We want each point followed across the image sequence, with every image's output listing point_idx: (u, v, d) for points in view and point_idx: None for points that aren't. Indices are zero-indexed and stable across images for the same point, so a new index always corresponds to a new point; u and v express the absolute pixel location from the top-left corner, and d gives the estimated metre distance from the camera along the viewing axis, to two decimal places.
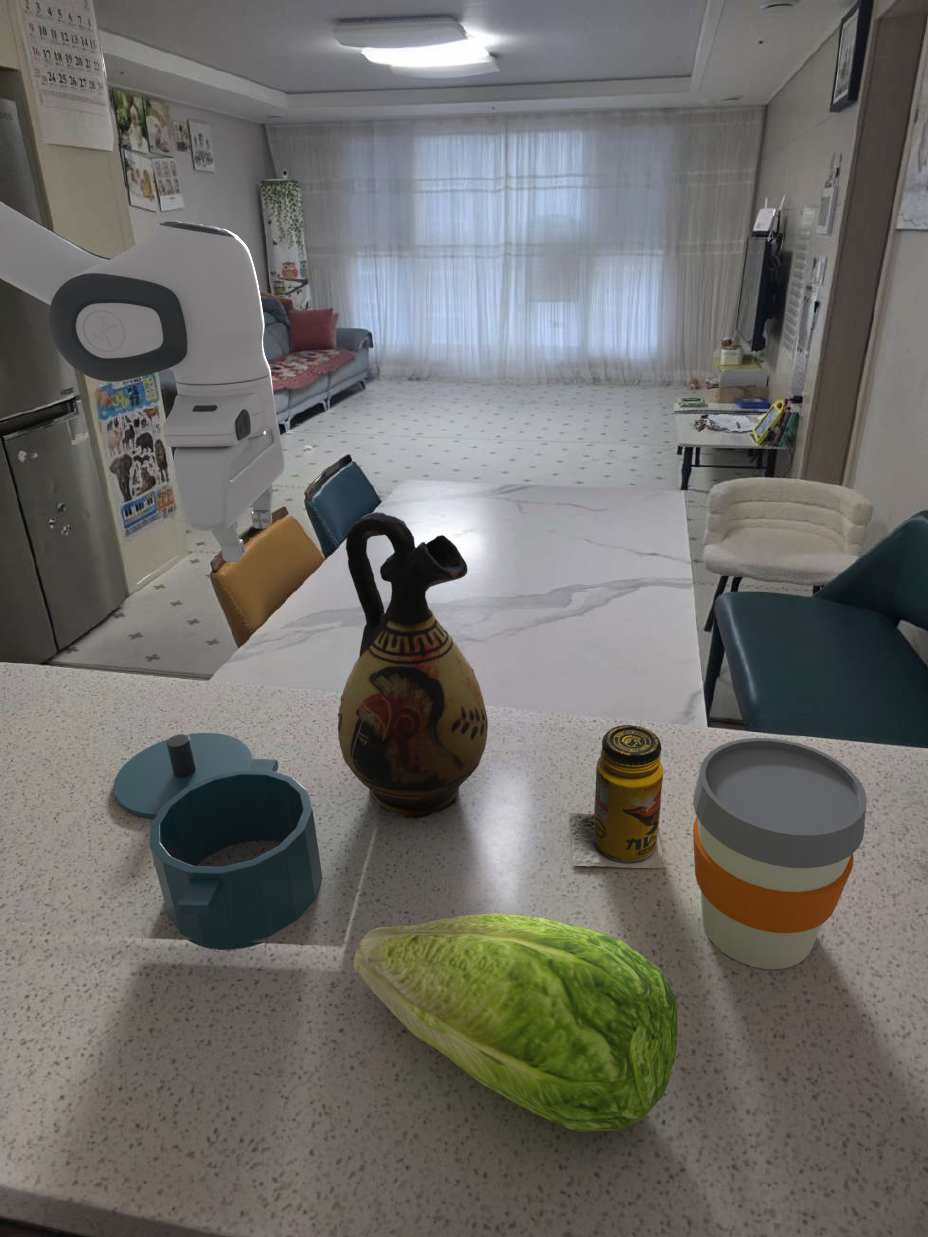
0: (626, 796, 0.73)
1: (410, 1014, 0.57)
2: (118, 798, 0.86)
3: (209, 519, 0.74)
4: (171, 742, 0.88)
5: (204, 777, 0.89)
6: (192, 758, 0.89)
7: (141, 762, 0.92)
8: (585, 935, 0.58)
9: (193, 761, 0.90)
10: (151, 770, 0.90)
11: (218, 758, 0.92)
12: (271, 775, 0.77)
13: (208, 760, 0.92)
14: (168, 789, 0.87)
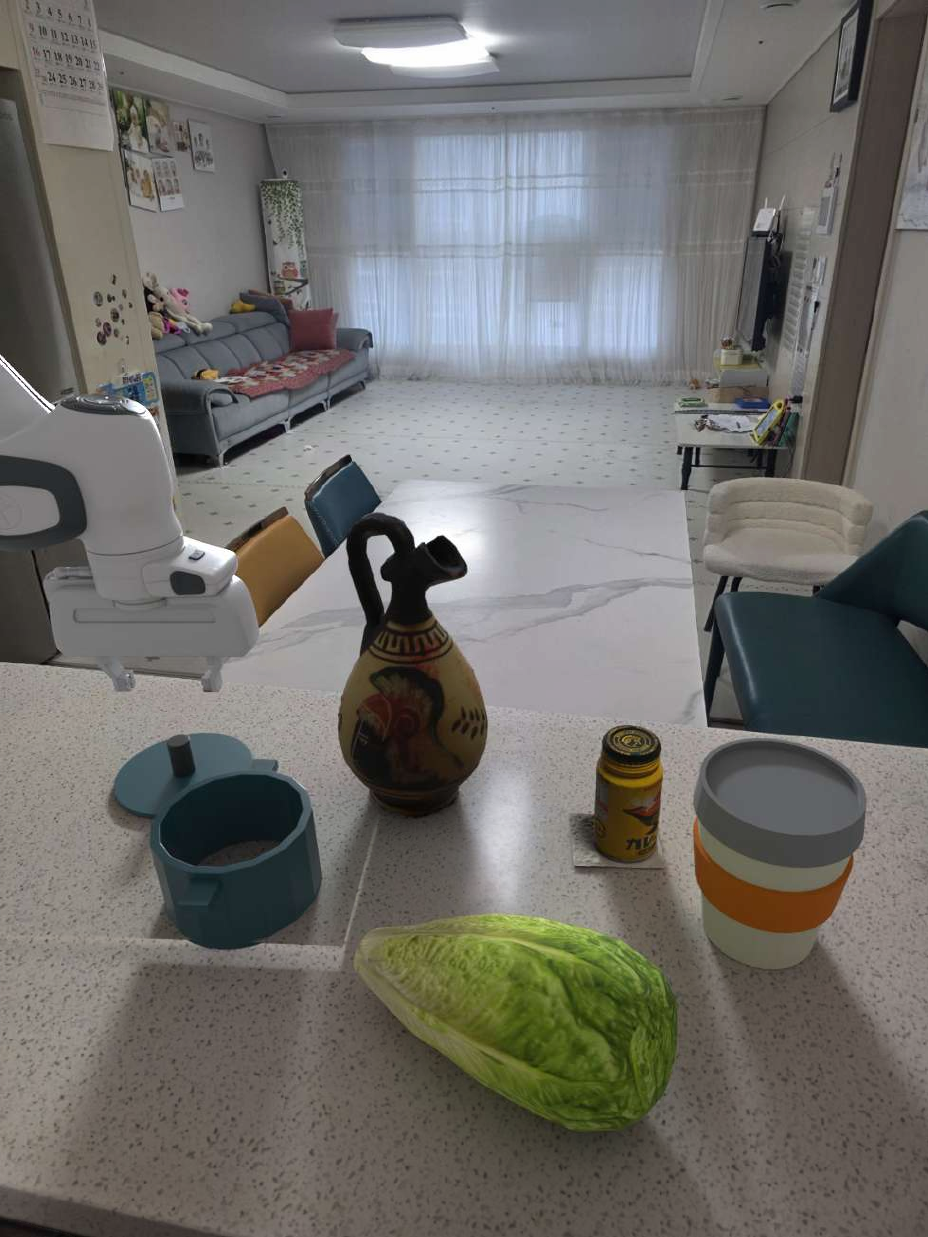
0: (626, 795, 0.73)
1: (410, 1014, 0.57)
2: (118, 798, 0.86)
3: (255, 636, 0.82)
4: (171, 742, 0.88)
5: (204, 777, 0.89)
6: (192, 758, 0.89)
7: (141, 762, 0.92)
8: (585, 935, 0.58)
9: (193, 761, 0.90)
10: (151, 770, 0.90)
11: (218, 758, 0.92)
12: (271, 775, 0.77)
13: (208, 760, 0.92)
14: (168, 789, 0.87)
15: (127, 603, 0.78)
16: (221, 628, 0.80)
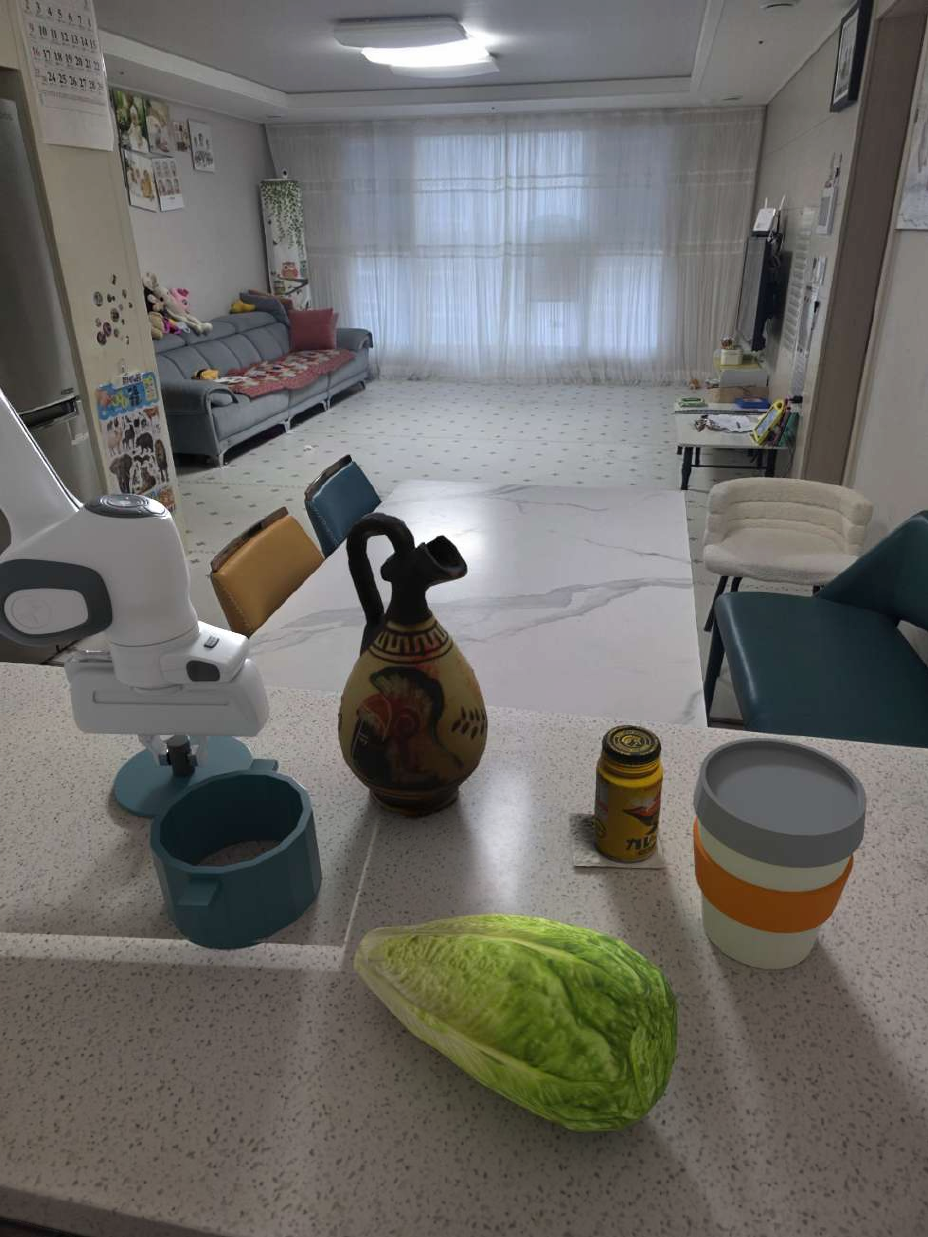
0: (626, 796, 0.73)
1: (410, 1014, 0.57)
2: (118, 798, 0.86)
3: (266, 716, 0.87)
4: (171, 742, 0.88)
5: (204, 777, 0.89)
6: None
7: (141, 762, 0.92)
8: (585, 935, 0.58)
9: None
10: (151, 770, 0.90)
11: (218, 757, 0.92)
12: (271, 775, 0.77)
13: (208, 760, 0.92)
14: (168, 789, 0.87)
15: (145, 688, 0.82)
16: (234, 711, 0.84)
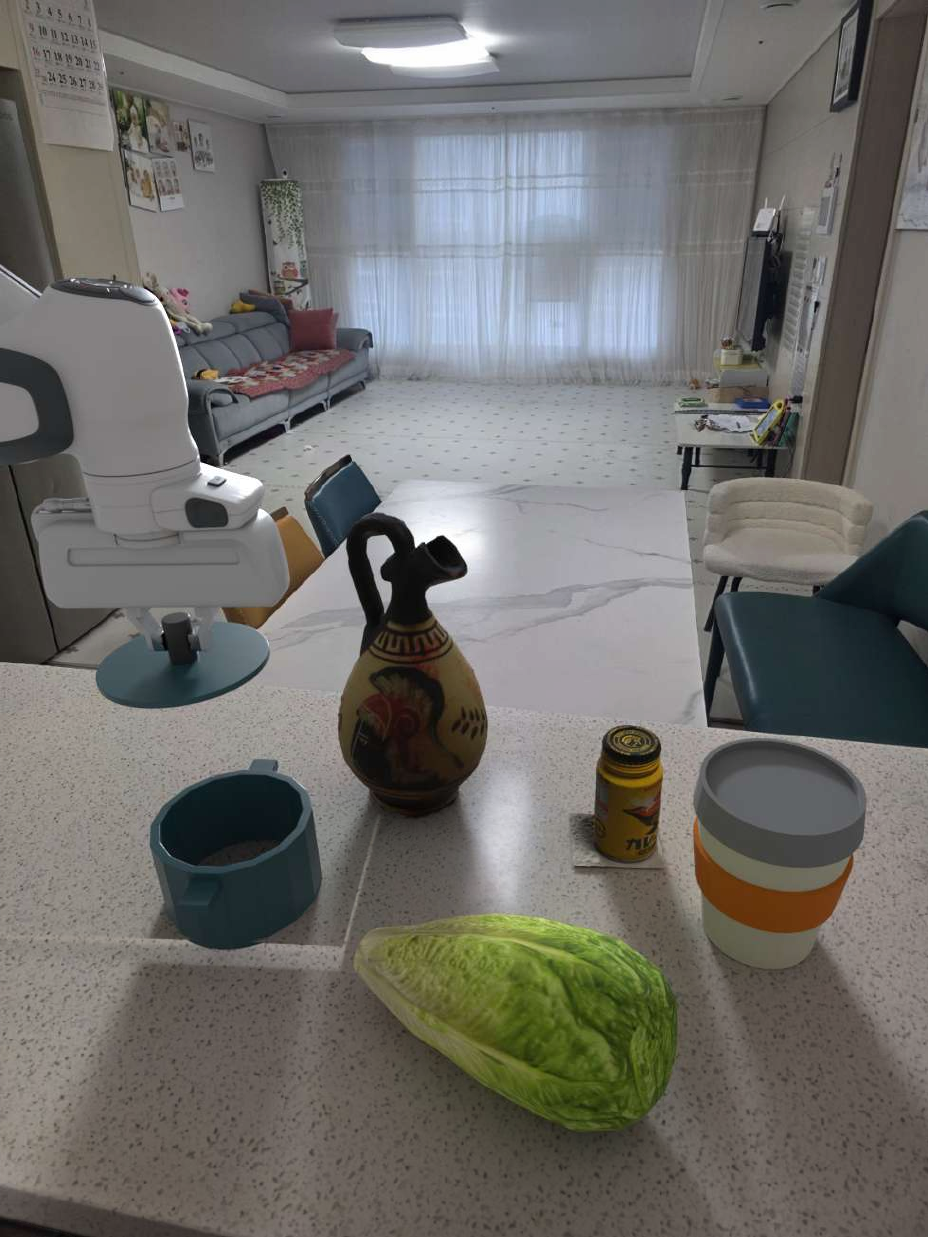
0: (626, 795, 0.73)
1: (410, 1014, 0.57)
2: (101, 687, 0.69)
3: (286, 583, 0.69)
4: (167, 619, 0.70)
5: (208, 664, 0.71)
6: None
7: (130, 651, 0.74)
8: (585, 935, 0.58)
9: None
10: (142, 658, 0.73)
11: (226, 645, 0.74)
12: (271, 775, 0.77)
13: (213, 647, 0.74)
14: (163, 677, 0.70)
15: (133, 539, 0.64)
16: (246, 571, 0.66)
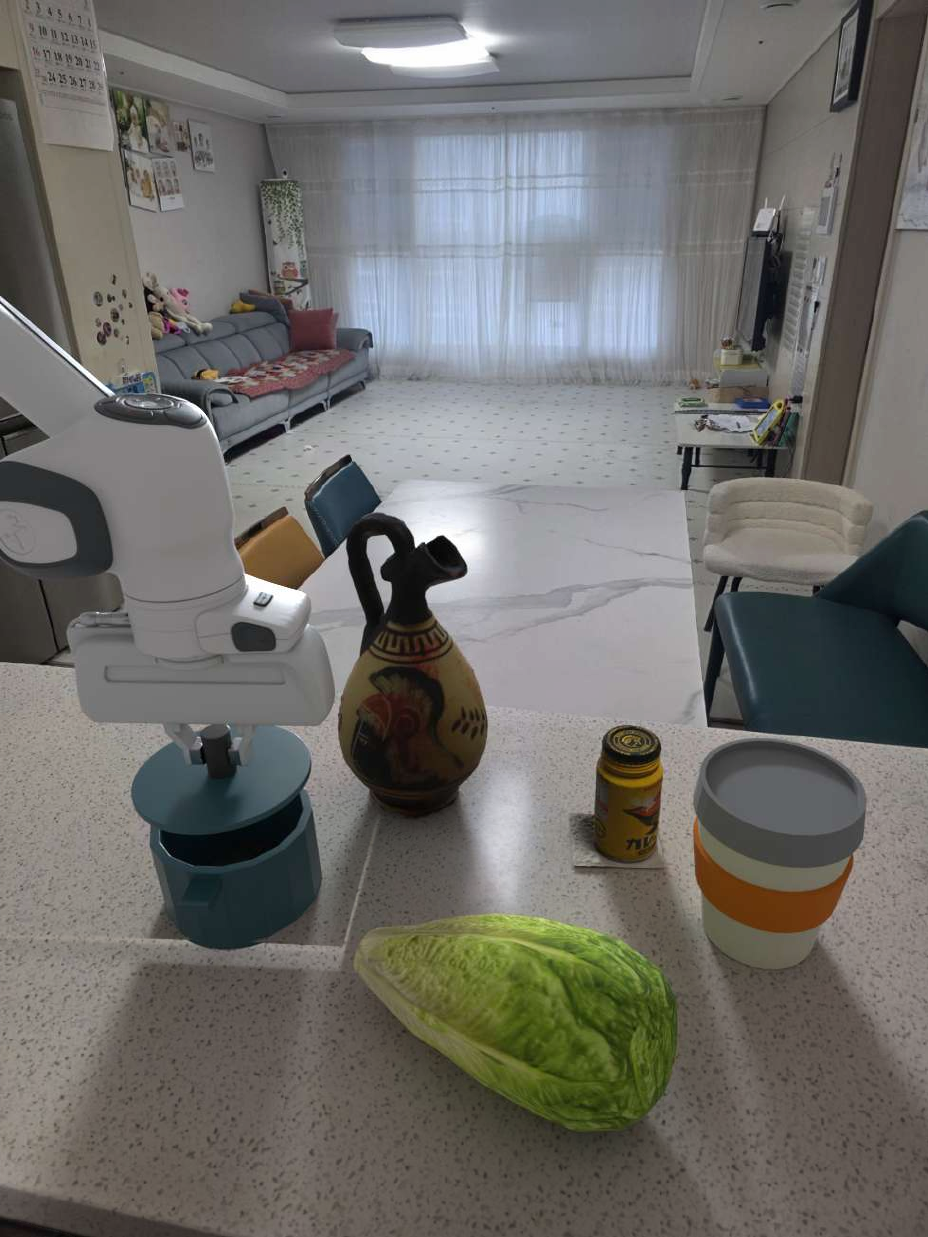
0: (626, 795, 0.73)
1: (410, 1014, 0.57)
2: (137, 807, 0.65)
3: (332, 699, 0.66)
4: (206, 733, 0.67)
5: (249, 779, 0.68)
6: None
7: (166, 760, 0.71)
8: (585, 935, 0.58)
9: None
10: (179, 770, 0.70)
11: (265, 754, 0.71)
12: None
13: None
14: (202, 795, 0.67)
15: (175, 661, 0.61)
16: (292, 691, 0.63)
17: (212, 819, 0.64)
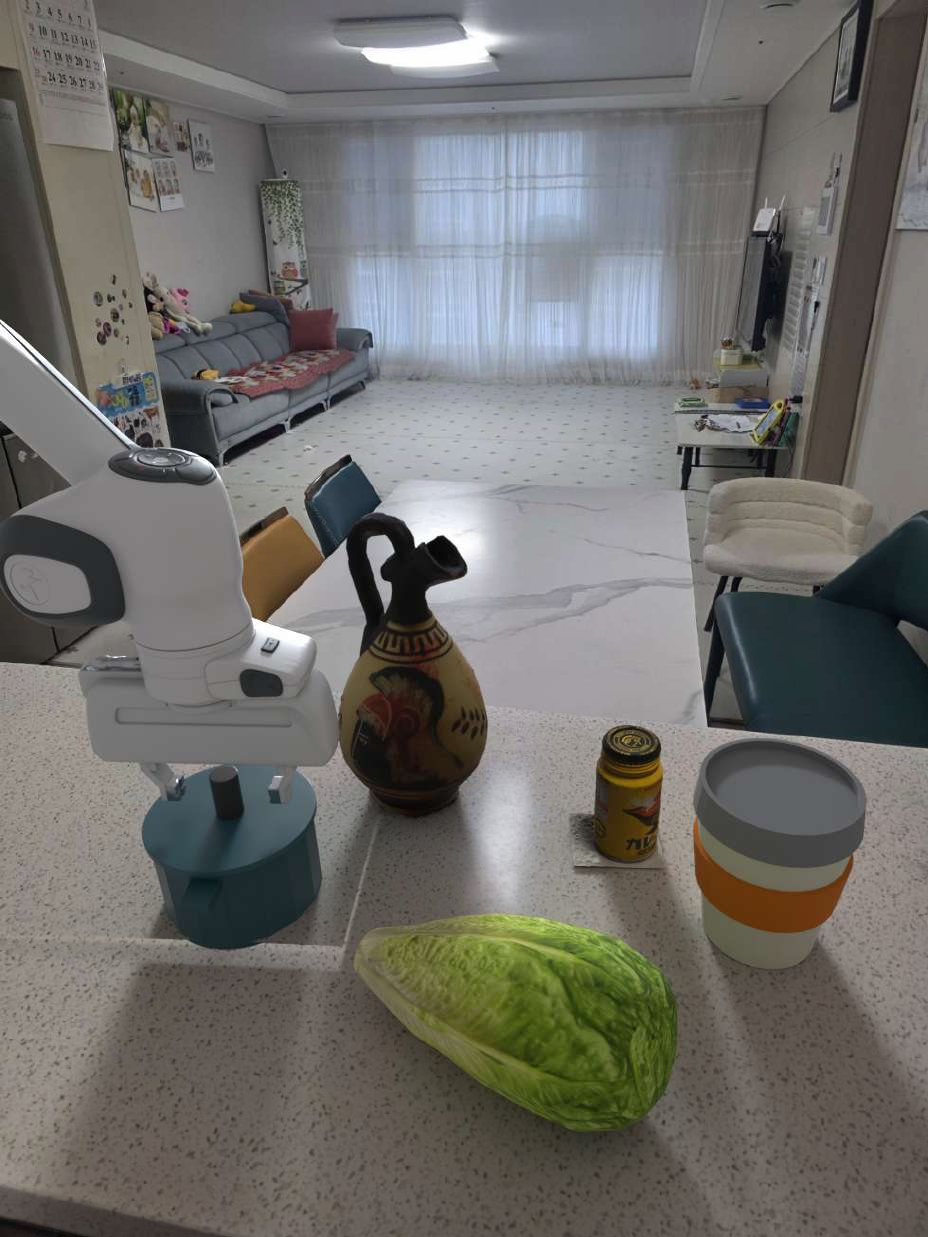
0: (626, 796, 0.73)
1: (410, 1014, 0.57)
2: (148, 849, 0.67)
3: (337, 739, 0.68)
4: (215, 776, 0.69)
5: (256, 820, 0.70)
6: (240, 796, 0.70)
7: None
8: (585, 935, 0.58)
9: (242, 800, 0.71)
10: (188, 810, 0.72)
11: None
12: None
13: (259, 797, 0.73)
14: (211, 836, 0.68)
15: (184, 705, 0.63)
16: (298, 734, 0.65)
17: (221, 862, 0.66)
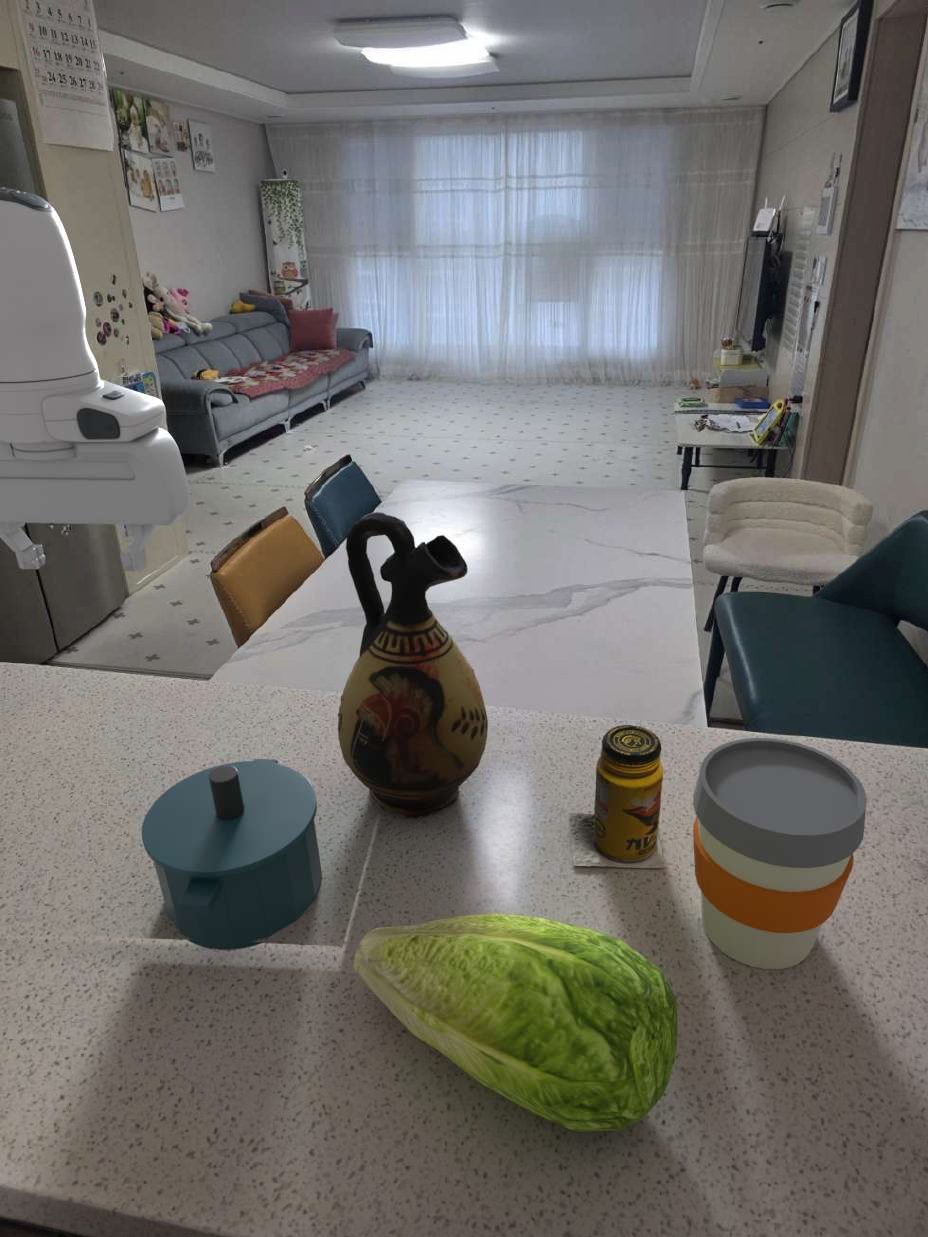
0: (626, 795, 0.73)
1: (410, 1014, 0.57)
2: (148, 849, 0.67)
3: (185, 502, 0.69)
4: (215, 776, 0.69)
5: (256, 820, 0.70)
6: (240, 796, 0.70)
7: (175, 800, 0.73)
8: (585, 935, 0.58)
9: (242, 800, 0.71)
10: (188, 810, 0.72)
11: (272, 794, 0.73)
12: None
13: (259, 797, 0.73)
14: (211, 836, 0.68)
15: (27, 450, 0.65)
16: (142, 487, 0.67)
17: (221, 862, 0.66)
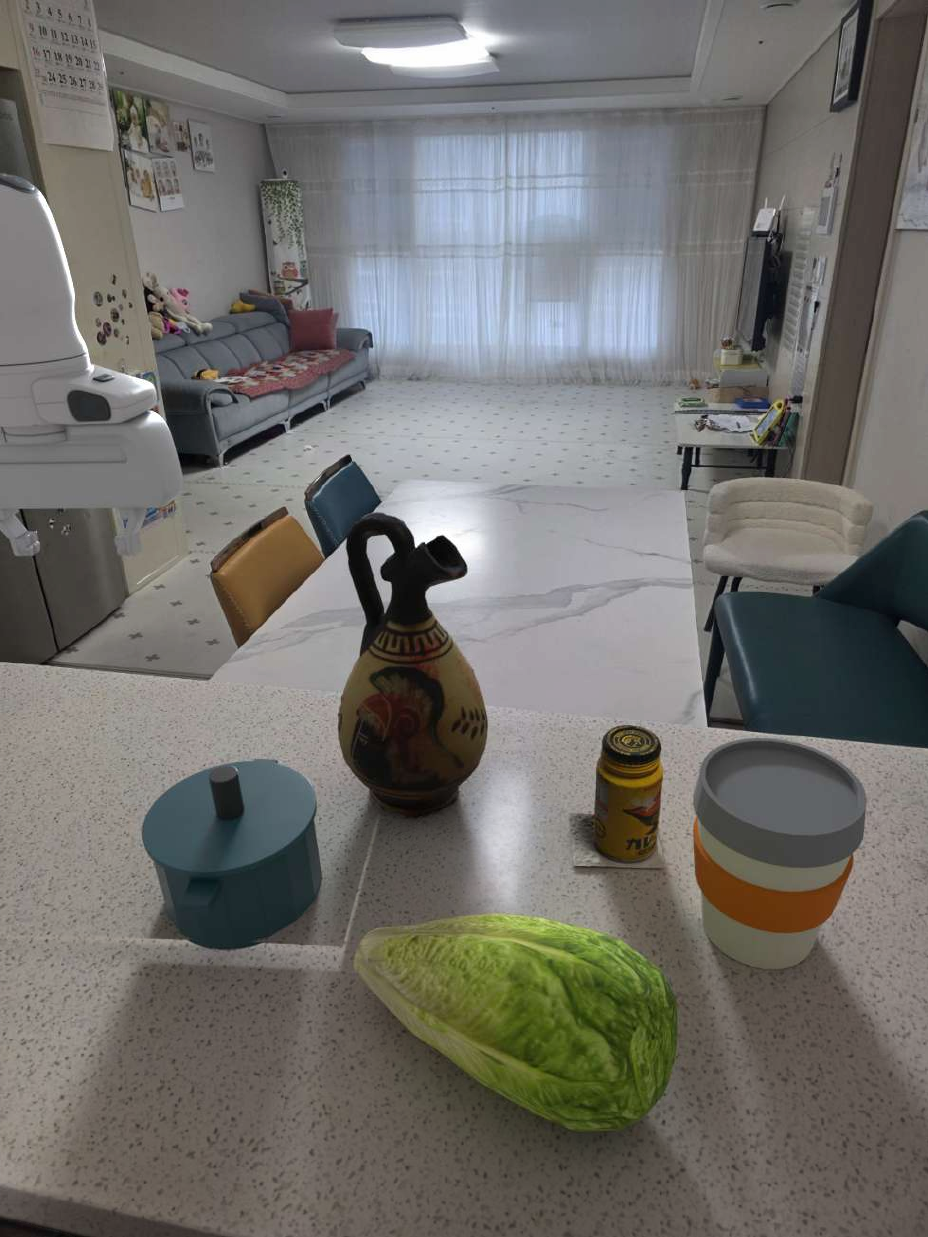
0: (626, 796, 0.73)
1: (410, 1014, 0.57)
2: (148, 849, 0.67)
3: (178, 485, 0.69)
4: (215, 776, 0.69)
5: (256, 820, 0.70)
6: (240, 796, 0.70)
7: (175, 800, 0.73)
8: (585, 935, 0.58)
9: (242, 800, 0.71)
10: (188, 810, 0.72)
11: (272, 794, 0.73)
12: None
13: (259, 797, 0.73)
14: (211, 836, 0.68)
15: (19, 434, 0.65)
16: (134, 469, 0.67)
17: (221, 862, 0.66)
